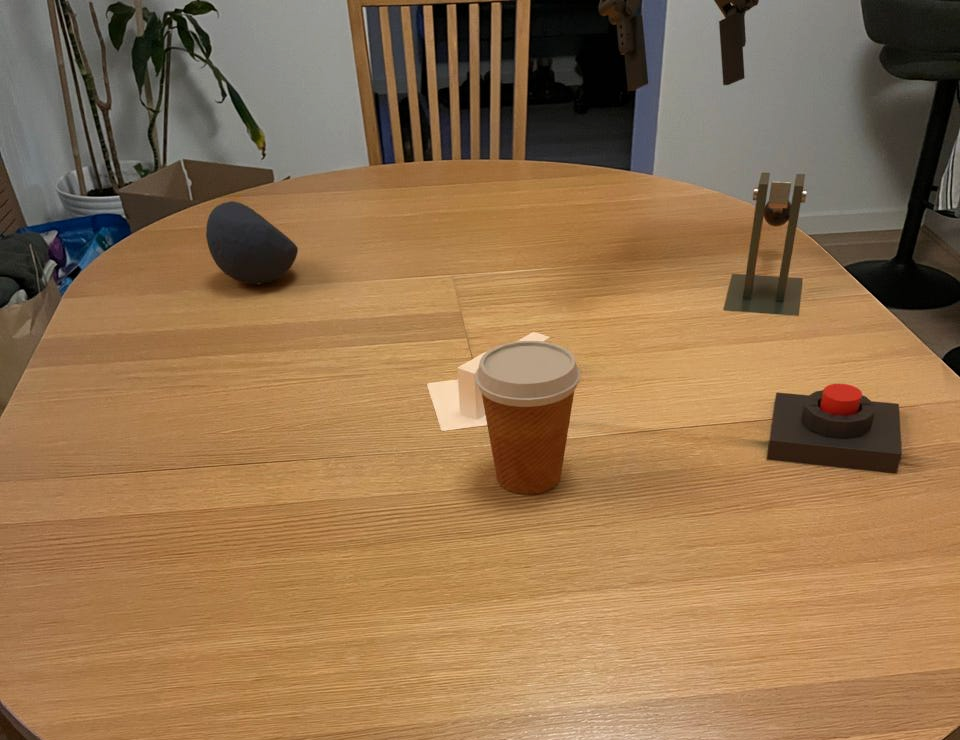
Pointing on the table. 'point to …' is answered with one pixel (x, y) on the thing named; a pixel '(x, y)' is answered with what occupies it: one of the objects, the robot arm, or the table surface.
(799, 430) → the button box
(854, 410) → the button
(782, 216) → the lever
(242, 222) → the decorative stone
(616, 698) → the table surface
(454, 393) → the napkin holder
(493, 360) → the disposable coffee cup
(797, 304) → the bracket
